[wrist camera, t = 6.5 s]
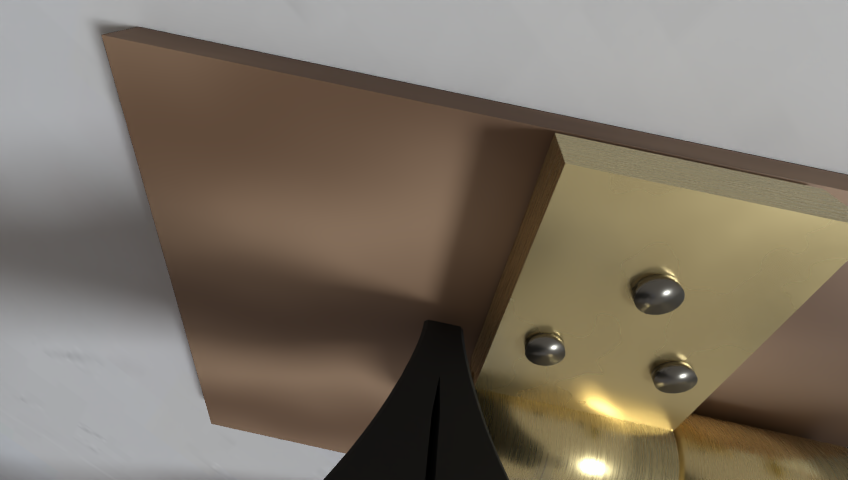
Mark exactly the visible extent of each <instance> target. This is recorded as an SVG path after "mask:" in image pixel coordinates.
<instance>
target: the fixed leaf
mask: <svg viewBox="0 0 848 480" xmlns="http://www.w3.org/2000/svg"><path fill="white" fill-rule="evenodd" d="M673 433H674V436H675V439H676V443H677V448H678V454H679V480H848V448H845V447H842V446H839V445H834V444H830V443H825V442H820V441H816V440H811V439H807V438H802V437H797V436H793V435H788V434H784V433H779V432H774V431H770V430H765V429H761V428H756V427H751V426H747V425H742V424H738V423H733V422H729V421H724V420H719V419H715V418H710V417H706V416H701V415H696V414H692V413H691V414H690V415H689V416H688V417H687V418H686V419H685V420H684V421H683V422H682V423H681V424H680V425H679V426H678V427H677V428H676V429H675V430H674V431H673Z"/></svg>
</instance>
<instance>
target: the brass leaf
mask: <svg viewBox="0 0 848 480" xmlns="http://www.w3.org/2000/svg"><path fill="white" fill-rule="evenodd" d="M847 261H848V206H846V205H845V204H843V203H842V202H841V201H839V200H838V199H836V198H835V197H834V196H832V195H831V194H830V193H828V192H827V191H825V190H824V189H821V188H816V187H812V186H807V185H802V184H797V183H792V182H788V181H783V180H778V179H773V178H769V177H764V176H759V175H754V174H749V173H745V172H740V171H735V170H730V169H726V168H721V167H716V166H711V165H706V164H702V163H697V162H692V161H687V160H683V159H678V158H673V157H668V156H663V155H659V154H654V153H649V152H644V151H640V150H635V149H630V148H625V147H621V146H616V145H611V144H606V143H601V142H597V141H592V140H587V139H582V138H578V137H573V136H568V135H563V134H558V133H554V136H553V139H552V141H551V144H550V147H549V150H548V152H547V155H546V158H545V160H544V163H543V166H542V168H541V171H540V174H539V177H538V179H537V182H536V185H535V187H534V190H533V193H532V195H531V198H530V201H529V203H528V206H527V209H526V212H525V214H524V217H523V220H522V222H521V225H520V228H519V230H518V233H517V236H516V238H515V241H514V244H513V247H512V249H511V252H510V255H509V257H508V260H507V263H506V265H505V268H504V271H503V273H502V276H501V279H500V282H499V284H498V287H497V290H496V292H495V295H494V298H493V300H492V303H491V306H490V309H489V311H488V314H487V317H486V319H485V322H484V325H483V327H482V330H481V333H480V335H479V338H478V341H477V344H476V346H475V349H474V352H473V354H472V358H471V366H469V368H470V372H471V376H472V380H473V383H474V387H475V390H476V394H477V397H478V401H479V404H480V407H481V410H482V413H483V416H484V419H485V422H486V425H487V427H488V430H489V433H490V436H491V438H492V441H493V443H494V446H495V448H496V451H497V453H498V455H499V458H500V460H501V462H502V465H503V467H504V469H505V471H506V474H507V476H508V478H509V480H679V454H678V448H677V443H676V439H675V436H674V433H673V431H674V430H675V429H676V428H677V427H678V426H679V425H680V424H681V423H682V422H683V421H684V420H685V419H686V418H687V417H688V416H689V415H690V414H691V413H692V412H693V411H694V410H695V409H696V408H697V407H698V406H699V405H700V404H701V403H702V402H703V401H705V400H706V399H707V398H708V397H709V396H710V395H711V394H712V393H713V392H714V391H715V390H716V389H717V388H718V387H719V386H720V385H721V384H722V383H723V382H724V381H725V380H726V379H727V378H728V377H729V376H730V375H731V374H732V373H733V372H734V371H735V370H736V369H737V368H738V367H739V366H740V365H741V364H742V363H743V362H744V361H745V360H746V359H747V358H748V357H749V356H751V355H752V354H753V353H754V352H755V351H756V350H757V349H758V348H759V347H760V346H761V345H762V344H763V343H764V342H765V341H766V340H767V339H768V338H769V337H770V336H771V335H772V334H773V333H774V332H775V331H776V330H777V329H778V328H779V327H780V326H781V325H782V324H783V323H784V322H785V321H786V320H787V319H788V318H789V317H790V316H791V315H792V314H793V313H794V312H795V311H797V310H798V309H799V308H800V307H801V306H802V305H803V304H804V303H805V302H806V301H807V300H808V299H809V298H810V297H811V296H812V295H813V294H814V293H815V292H816V291H817V290H818V289H819V288H820V287H821V286H822V285H823V284H824V283H825V282H826V281H827V280H828V279H829V278H830V277H831V276H832V275H833V274H834V273H835V272H836V271H837V270H838V269H839V268H840V267H841V266H843V265H844V264H845V263H846V262H847Z"/></svg>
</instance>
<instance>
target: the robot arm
mask: <svg viewBox="0 0 848 480" xmlns="http://www.w3.org/2000/svg"><path fill="white" fill-rule="evenodd" d="M324 480H509V478H508V476H507V474H506V471H505V469H504V467H503V465H502V462H501V460H500V458H499V455H498V453H497V451H496V448H495V446H494V443H493V441H492V438H491V436H490V433H489V430H488V427H487V425H486V422H485V419H484V416H483V413H482V410H481V407H480V404H479V401H478V397H477V394H476V390H475V387H474V383H473V380H472V376H471V372H470V368H469V363H468V359H467V354H466V348H465V342H464V334H463V329H462V328H461V326H456V325H452V324H447V323H442V322H438V321H433V320H429V319H428V320H426V321H424V324H423V328H422V332H421V335H420V338H419V340H418V343H417V345H416V347H415V350H414V352H413V354H412V356H411V358H410V360H409V362H408V364H407V365H406V367H405V369H404V371H403V373H402V375H401V377H400V378H399V380H398V382H397V383H396V385H395V386H394V388H393V390H392V391H391V393H390V394H389V396H388V398H387V399H386V401H385V402H384V404H383V405H382V407H381V408H380V410H379V411H378V413H377V414H376V415H375V417H374V418H373V420H372V421H371V422H370V424H369V425H368V426H367V428H366V429H365V430H364V432H363V433H362V434H361V436H360V437H359V438H358V439H357V441H356V442H355V443H354V445H353V446H352V447H351V448H350V450H349V451H348V452H347V453H346V454H345V456H344V457H343V458H342V459H341V460H340V461H339V463H338V464H337V465H336V466H335V467H334V468H333V469H332V471H331V472H330V473H329V474H328V475H327V476H326V477H325V479H324Z"/></svg>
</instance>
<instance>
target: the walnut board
mask: <svg viewBox="0 0 848 480" xmlns="http://www.w3.org/2000/svg"><path fill="white" fill-rule="evenodd" d="M102 39H103V42H104V46H105V49H106V53H107V56H108V60H109V63H110V67H111V70H112V74H113V78H114V81H115V85H116V88H117V92H118V95H119V99H120V102H121V106H122V109H123V113H124V116H125V120H126V123H127V127H128V131H129V134H130V138H131V141H132V145H133V148H134V152H135V155H136V159H137V162H138V166H139V169H140V173H141V176H142V180H143V184H144V187H145V191H146V194H147V198H148V201H149V205H150V208H151V212H152V215H153V219H154V222H155V226H156V229H157V233H158V237H159V240H160V244H161V247H162V251H163V254H164V258H165V261H166V265H167V268H168V272H169V275H170V279H171V282H172V286H173V290H174V293H175V297H176V300H177V304H178V307H179V311H180V314H181V318H182V321H183V325H184V328H185V332H186V335H187V339H188V343H189V346H190V350H191V353H192V357H193V360H194V364H195V367H196V371H197V374H198V378H199V381H200V385H201V388H202V392H203V396H204V399H205V403H206V406H207V410H208V413H209V417H210V420H211V424H215V425H220V426H224V427H229V428H233V429H238V430H242V431H247V432H251V433H256V434H260V435H265V436H269V437H274V438H278V439H283V440H288V441H292V442H297V443H301V444H306V445H310V446H315V447H319V448H324V449H328V450H333V451H337V452H342V453H347V452H348V451H349V450H350V448H351V447H352V446H353V445H354V443H355V442H356V441H357V439H358V438H359V437H360V436H361V434H362V433H363V432H364V430H365V429H366V428H367V426H368V425H369V424H370V422H371V421H372V420H373V418H374V417H375V415H376V414H377V413H378V411H379V410H380V408H381V407H382V405H383V404H384V402H385V401H386V399H387V398H388V396H389V394H390V393H391V391H392V390H393V388H394V386H395V385H396V383H397V382H398V380H399V378H400V377H401V375H402V373H403V371H404V369H405V367H406V365H407V364H408V362H409V360H410V358H411V356H412V354H413V352H414V350H415V347H416V345H417V343H418V340H419V338H420V335H421V332H422V328H423V324H424V321H426V320H428V319H429V320H433V321H438V322H442V323H447V324H452V325H456V326H461V328H462V329H463V334H464V342H465V348H466V354H467V359H468V363H469V366H471V358H472V354H473V352H474V349H475V346H476V344H477V341H478V338H479V335H480V333H481V330H482V327H483V325H484V322H485V319H486V317H487V314H488V311H489V309H490V306H491V303H492V300H493V298H494V295H495V292H496V290H497V287H498V284H499V282H500V279H501V276H502V273H503V271H504V268H505V265H506V263H507V260H508V257H509V255H510V252H511V249H512V247H513V244H514V241H515V238H516V236H517V233H518V230H519V228H520V225H521V222H522V220H523V217H524V214H525V212H526V209H527V206H528V203H529V201H530V198H531V195H532V193H533V190H534V187H535V185H536V182H537V179H538V177H539V174H540V171H541V168H542V166H543V163H544V160H545V158H546V155H547V152H548V150H549V147H550V144H551V141H552V139H553V136H554V133H558V134H563V135H568V136H573V137H578V138H582V139H587V140H592V141H597V142H601V143H606V144H611V145H616V146H621V147H625V148H630V149H635V150H640V151H644V152H649V153H654V154H659V155H663V156H668V157H673V158H678V159H683V160H687V161H692V162H697V163H702V164H706V165H711V166H716V167H721V168H726V169H730V170H735V171H740V172H745V173H749V174H754V175H759V176H764V177H769V178H773V179H778V180H783V181H788V182H792V183H797V184H802V185H807V186H812V187H816V188H821V189H824V190H825V191H827V192H828V193H830V194H831V195H832V196H834V197H835V198H836V199H838V200H839V201H841V202H842V203H843V204H845V205H846V206H848V175H845V174H841V173H836V172H831V171H826V170H821V169H817V168H812V167H807V166H802V165H797V164H793V163H788V162H783V161H778V160H774V159H769V158H764V157H759V156H754V155H750V154H745V153H740V152H735V151H730V150H726V149H721V148H716V147H711V146H706V145H702V144H697V143H692V142H687V141H683V140H678V139H673V138H668V137H663V136H659V135H654V134H649V133H644V132H639V131H635V130H630V129H625V128H620V127H616V126H611V125H606V124H601V123H596V122H592V121H587V120H582V119H577V118H572V117H568V116H563V115H558V114H553V113H548V112H544V111H539V110H534V109H529V108H525V107H520V106H515V105H510V104H505V103H501V102H496V101H491V100H486V99H481V98H477V97H472V96H467V95H462V94H457V93H453V92H448V91H443V90H438V89H434V88H429V87H424V86H419V85H414V84H410V83H405V82H400V81H395V80H390V79H386V78H381V77H376V76H371V75H366V74H362V73H357V72H352V71H347V70H343V69H338V68H333V67H328V66H323V65H319V64H314V63H309V62H304V61H299V60H295V59H290V58H285V57H280V56H276V55H271V54H266V53H261V52H256V51H252V50H247V49H242V48H237V47H232V46H228V45H223V44H218V43H213V42H208V41H204V40H199V39H194V38H189V37H185V36H180V35H175V34H170V33H165V32H161V31H156V30H151V29H146V28H141V27H135V28H130V29H126V30H121V31H117V32H112V33H108V34H103V35H102ZM692 414H696V415H701V416H706V417H710V418H715V419H719V420H724V421H729V422H733V423H738V424H742V425H747V426H751V427H756V428H761V429H765V430H770V431H774V432H779V433H784V434H788V435H793V436H797V437H802V438H807V439H811V440H816V441H820V442H825V443H830V444H834V445H839V446H842V447H845V448H846V447H848V261H847V262H846V263H845V264H844V265H843V266H841V267H840V268H839V269H838V270H837V271H836V272H835V273H834V274H833V275H832V276H831V277H830V278H829V279H828V280H827V281H826V282H825V283H824V284H823V285H822V286H821V287H820V288H819V289H818V290H817V291H816V292H815V293H814V294H813V295H812V296H811V297H810V298H809V299H808V300H807V301H806V302H805V303H804V304H803V305H802V306H801V307H800V308H799V309H798V310H797V311H795V312H794V313H793V314H792V315H791V316H790V317H789V318H788V319H787V320H786V321H785V322H784V323H783V324H782V325H781V326H780V327H779V328H778V329H777V330H776V331H775V332H774V333H773V334H772V335H771V336H770V337H769V338H768V339H767V340H766V341H765V342H764V343H763V344H762V345H761V346H760V347H759V348H758V349H757V350H756V351H755V352H754V353H753V354H752V355H751V356H749V357H748V358H747V359H746V360H745V361H744V362H743V363H742V364H741V365H740V366H739V367H738V368H737V369H736V370H735V371H734V372H733V373H732V374H731V375H730V376H729V377H728V378H727V379H726V380H725V381H724V382H723V383H722V384H721V385H720V386H719V387H718V388H717V389H716V390H715V391H714V392H713V393H712V394H711V395H710V396H709V397H708V398H707V399H706V400H705V401H703V402H702V403H701V404H700V405H699V406H698V407H697V408H696V409H695V410H694V411H693V412H692Z"/></svg>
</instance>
